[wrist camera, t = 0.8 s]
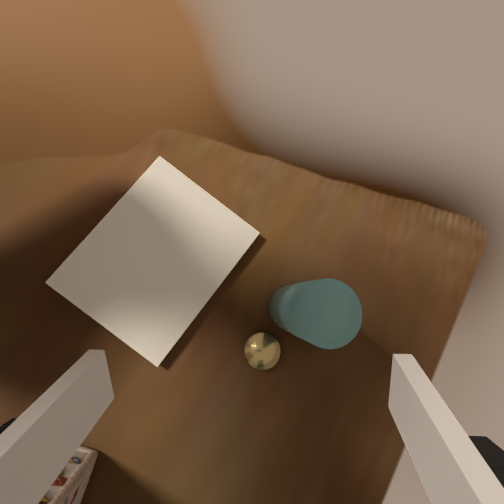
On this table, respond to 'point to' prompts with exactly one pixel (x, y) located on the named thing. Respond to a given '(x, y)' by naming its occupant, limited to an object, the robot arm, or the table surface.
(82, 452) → the decorative jar
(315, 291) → the teal canister
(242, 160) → the table surface
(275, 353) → the beige mottled disc
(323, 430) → the table surface
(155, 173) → the pale board
